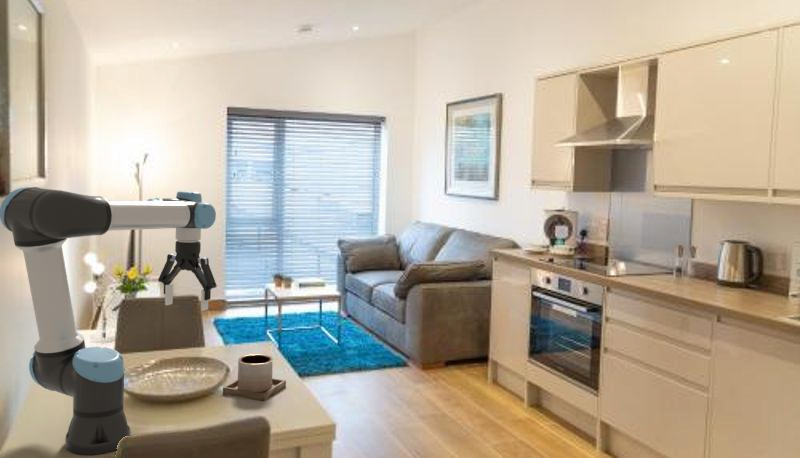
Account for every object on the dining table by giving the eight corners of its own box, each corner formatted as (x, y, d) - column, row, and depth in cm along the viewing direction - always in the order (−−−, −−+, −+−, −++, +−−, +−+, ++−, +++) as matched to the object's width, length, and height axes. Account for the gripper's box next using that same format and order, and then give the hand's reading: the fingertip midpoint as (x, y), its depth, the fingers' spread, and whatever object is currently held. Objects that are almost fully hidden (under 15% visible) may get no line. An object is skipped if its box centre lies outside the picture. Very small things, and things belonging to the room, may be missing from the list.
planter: (230, 389, 208) (230, 360, 206) (252, 380, 217) (253, 351, 216) (256, 396, 203) (257, 366, 202) (279, 386, 212) (279, 358, 211)
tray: (263, 401, 201) (263, 394, 201) (222, 393, 205) (222, 387, 205) (285, 386, 215) (285, 380, 214) (247, 379, 219) (247, 373, 219)
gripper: (229, 243, 205) (227, 310, 207) (163, 236, 213) (162, 300, 215) (214, 245, 198) (212, 314, 200) (147, 238, 206) (146, 304, 208)
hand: (186, 307), depth 207 cm, fingers open, 13 cm apart
